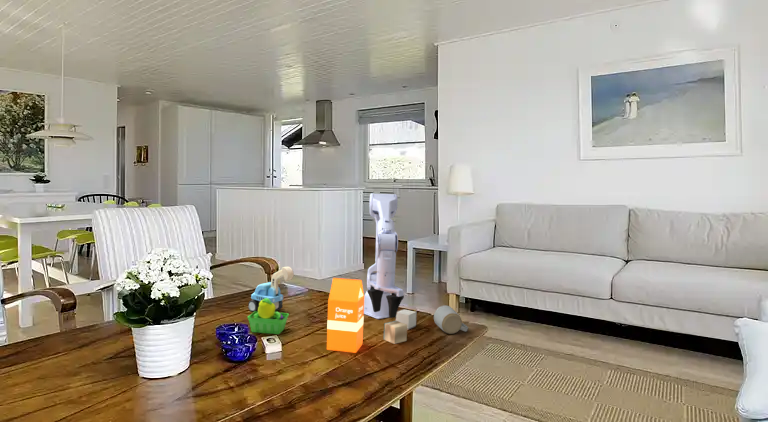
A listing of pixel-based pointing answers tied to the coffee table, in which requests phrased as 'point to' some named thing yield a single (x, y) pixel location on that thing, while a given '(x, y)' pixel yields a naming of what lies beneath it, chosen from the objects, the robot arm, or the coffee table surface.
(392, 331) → the maple cube
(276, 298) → the toy excavator
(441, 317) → the ceramic mug
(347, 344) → the orange juice
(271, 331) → the fruit basket
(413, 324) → the grey cube
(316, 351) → the coffee table surface
